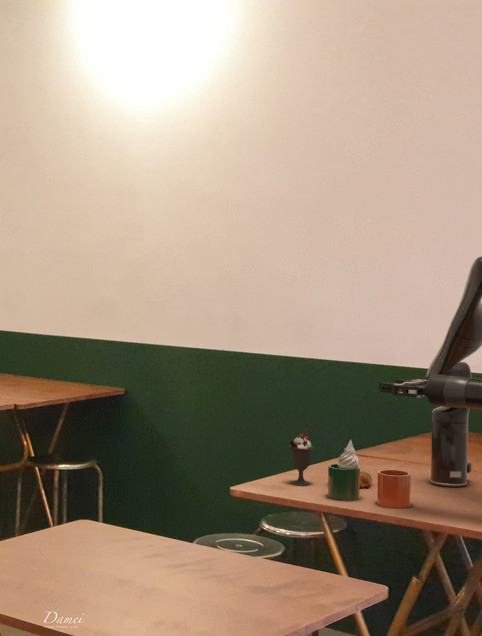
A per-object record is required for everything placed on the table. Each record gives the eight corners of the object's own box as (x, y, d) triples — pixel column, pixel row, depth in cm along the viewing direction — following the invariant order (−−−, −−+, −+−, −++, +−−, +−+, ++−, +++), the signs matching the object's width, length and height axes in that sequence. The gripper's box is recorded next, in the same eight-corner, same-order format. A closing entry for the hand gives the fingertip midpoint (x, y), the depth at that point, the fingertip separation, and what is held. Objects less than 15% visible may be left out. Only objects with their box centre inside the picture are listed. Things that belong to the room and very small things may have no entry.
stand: (333, 492, 286) (334, 462, 285) (363, 496, 282) (363, 465, 281) (323, 498, 279) (324, 467, 279) (353, 502, 275) (354, 470, 274)
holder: (382, 499, 278) (383, 468, 277) (413, 503, 274) (414, 471, 273) (373, 505, 271) (374, 473, 271) (405, 509, 267) (405, 477, 267)
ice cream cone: (355, 500, 277) (361, 442, 275) (334, 497, 278) (340, 439, 276) (353, 495, 282) (359, 438, 280) (333, 492, 283) (339, 435, 281)
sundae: (315, 482, 298) (316, 427, 297) (310, 486, 292) (311, 431, 291) (291, 479, 301) (292, 426, 300) (285, 484, 295) (286, 429, 294)
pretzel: (362, 480, 301) (362, 466, 301) (380, 488, 290) (380, 474, 290) (320, 481, 299) (321, 468, 299) (337, 490, 288) (338, 476, 288)
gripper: (464, 373, 265) (400, 367, 276) (439, 378, 255) (374, 373, 265) (463, 403, 266) (399, 397, 276) (438, 410, 255) (374, 403, 266)
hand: (387, 385), depth 271 cm, fingers open, 8 cm apart
